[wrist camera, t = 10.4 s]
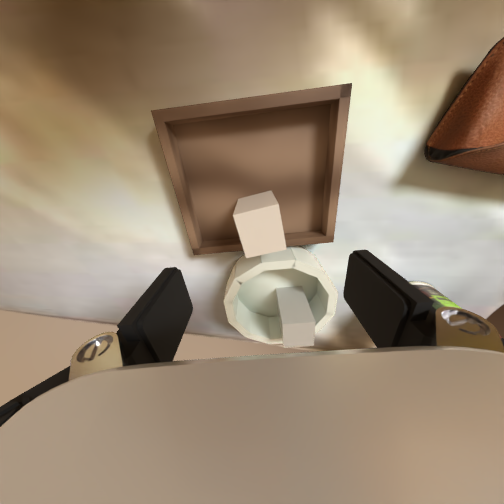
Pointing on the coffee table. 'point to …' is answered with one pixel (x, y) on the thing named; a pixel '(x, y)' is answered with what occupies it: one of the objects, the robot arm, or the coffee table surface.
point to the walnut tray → (257, 162)
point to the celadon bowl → (264, 291)
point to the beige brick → (259, 224)
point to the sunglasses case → (474, 120)
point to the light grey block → (295, 317)
